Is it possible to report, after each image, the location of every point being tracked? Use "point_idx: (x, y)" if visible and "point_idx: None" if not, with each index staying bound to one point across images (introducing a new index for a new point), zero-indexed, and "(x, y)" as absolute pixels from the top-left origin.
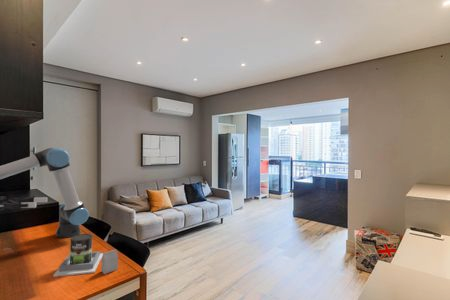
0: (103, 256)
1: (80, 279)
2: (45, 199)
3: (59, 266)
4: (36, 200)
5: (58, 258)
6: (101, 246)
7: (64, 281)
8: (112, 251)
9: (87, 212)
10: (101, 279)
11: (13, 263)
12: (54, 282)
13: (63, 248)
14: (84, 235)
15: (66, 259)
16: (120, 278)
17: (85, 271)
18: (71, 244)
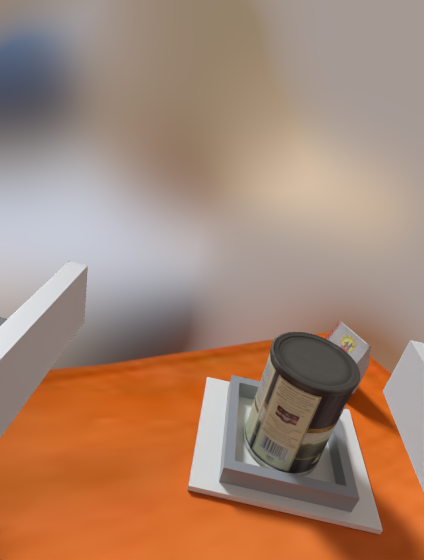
0: (361, 356)
1: (390, 447)
2: (80, 298)
3: (357, 497)
4: (15, 387)
5: (183, 538)
6: (116, 377)
7: (408, 491)
8: (349, 330)
9: None
10: (385, 401)
11: None
12: (419, 523)
13: (28, 529)
14: (290, 350)
15: (288, 476)
16: (377, 368)
17: (350, 430)
18: (341, 405)
